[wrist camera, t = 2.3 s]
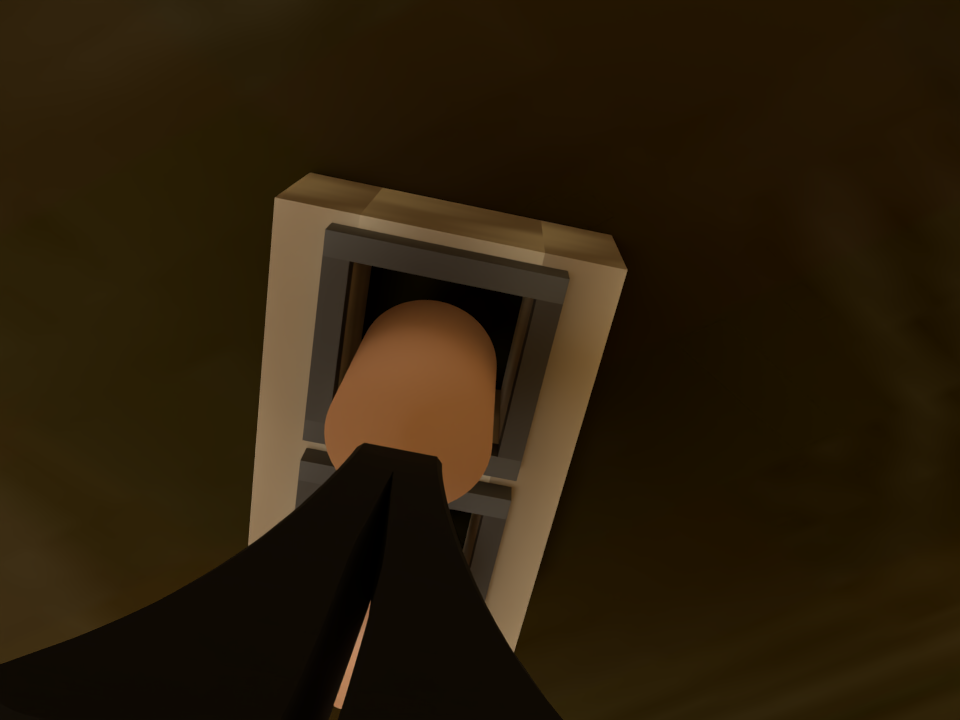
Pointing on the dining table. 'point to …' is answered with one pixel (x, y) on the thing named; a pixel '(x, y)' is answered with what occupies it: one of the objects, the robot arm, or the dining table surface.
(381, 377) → the peg
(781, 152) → the dining table surface
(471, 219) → the socket block
